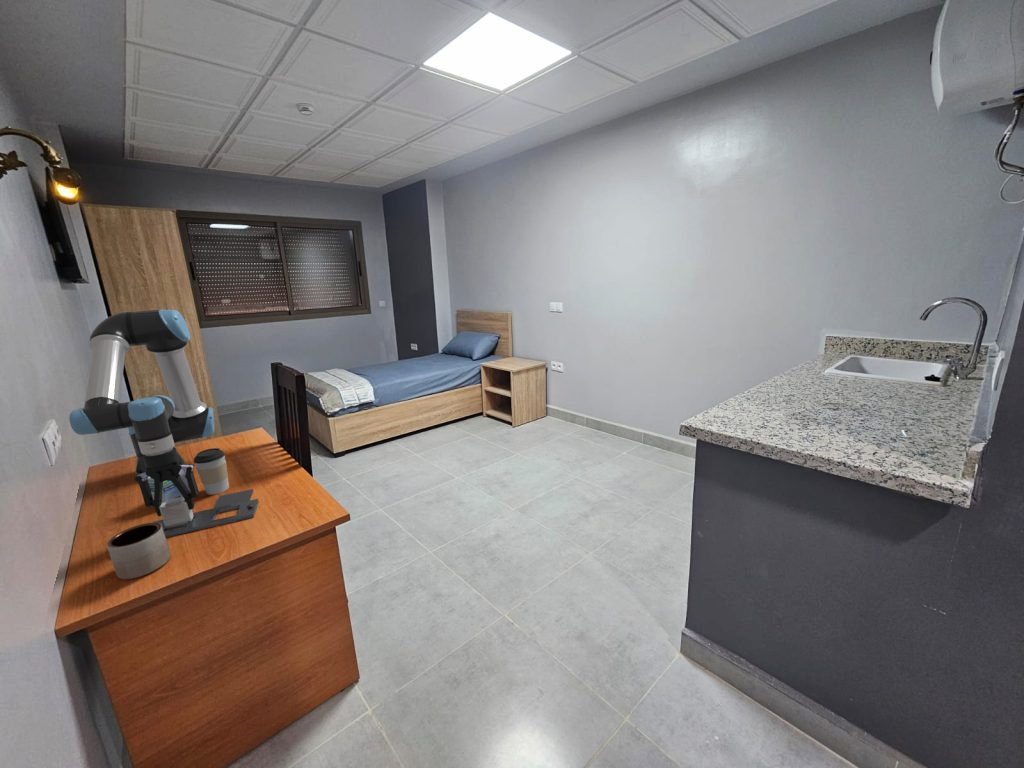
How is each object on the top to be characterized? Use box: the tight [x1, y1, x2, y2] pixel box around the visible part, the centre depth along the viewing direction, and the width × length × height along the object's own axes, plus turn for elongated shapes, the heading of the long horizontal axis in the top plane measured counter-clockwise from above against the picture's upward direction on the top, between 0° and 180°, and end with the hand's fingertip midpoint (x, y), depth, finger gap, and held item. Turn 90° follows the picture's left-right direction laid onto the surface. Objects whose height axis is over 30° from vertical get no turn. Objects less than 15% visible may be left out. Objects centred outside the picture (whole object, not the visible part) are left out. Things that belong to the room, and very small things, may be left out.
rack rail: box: [152, 498, 260, 538], centre depth 127 cm, size 10×28×2 cm, turn 114°
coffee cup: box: [193, 447, 230, 496], centre depth 144 cm, size 9×9×15 cm
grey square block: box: [161, 497, 193, 531], centre depth 124 cm, size 5×5×9 cm
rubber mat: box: [213, 488, 254, 508], centre depth 138 cm, size 10×10×1 cm
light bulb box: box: [147, 469, 190, 503], centre depth 139 cm, size 11×7×11 cm, turn 168°
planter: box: [106, 522, 172, 580], centre depth 106 cm, size 11×11×10 cm
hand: (179, 521), depth 124 cm, fingers closed on grey square block, 5 cm apart
